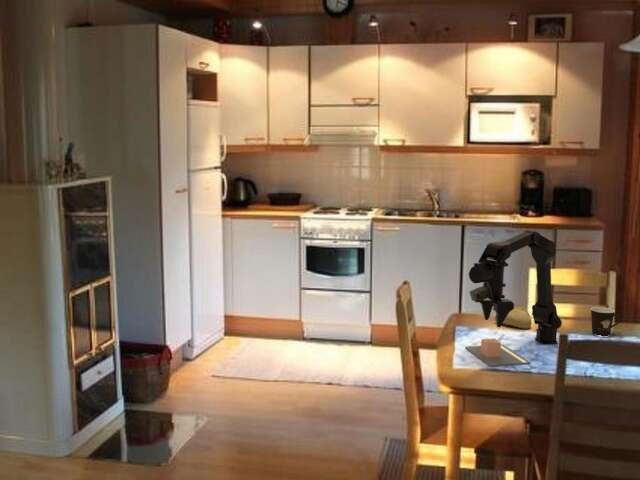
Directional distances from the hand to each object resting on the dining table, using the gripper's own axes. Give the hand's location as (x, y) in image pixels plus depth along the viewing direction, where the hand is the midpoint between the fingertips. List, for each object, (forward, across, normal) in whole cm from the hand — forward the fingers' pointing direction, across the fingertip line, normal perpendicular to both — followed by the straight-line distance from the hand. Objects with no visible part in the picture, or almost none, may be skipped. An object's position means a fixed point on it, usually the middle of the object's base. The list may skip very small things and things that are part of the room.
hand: (492, 323), depth 253 cm
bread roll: (+12, -34, +27) cm, 45 cm away
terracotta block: (+11, 0, 0) cm, 11 cm away
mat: (+12, 0, +2) cm, 12 cm away
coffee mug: (+12, -15, +56) cm, 59 cm away
